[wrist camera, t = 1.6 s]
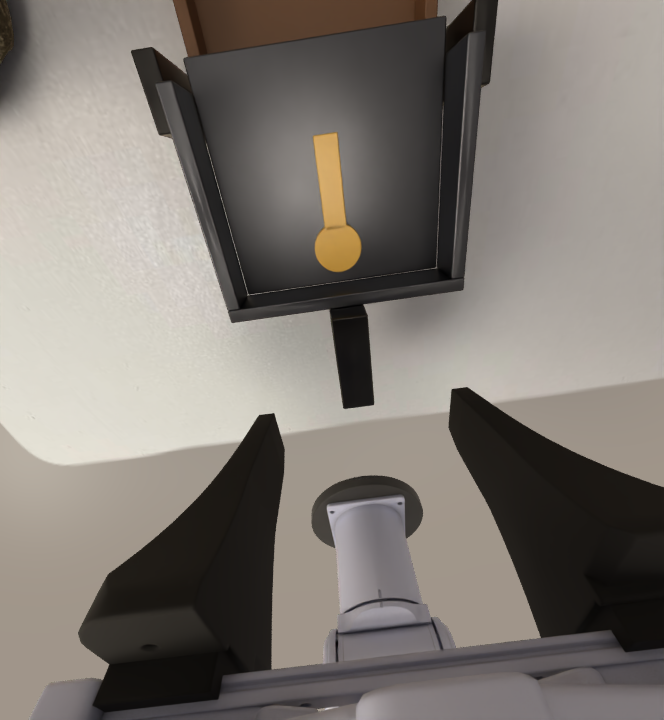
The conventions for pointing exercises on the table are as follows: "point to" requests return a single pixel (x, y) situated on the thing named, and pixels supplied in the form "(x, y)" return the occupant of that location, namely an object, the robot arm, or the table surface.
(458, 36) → the bracket
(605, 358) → the table surface
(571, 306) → the table surface
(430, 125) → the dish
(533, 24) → the table surface
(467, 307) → the table surface
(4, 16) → the seashell
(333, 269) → the spoon
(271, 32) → the tray
